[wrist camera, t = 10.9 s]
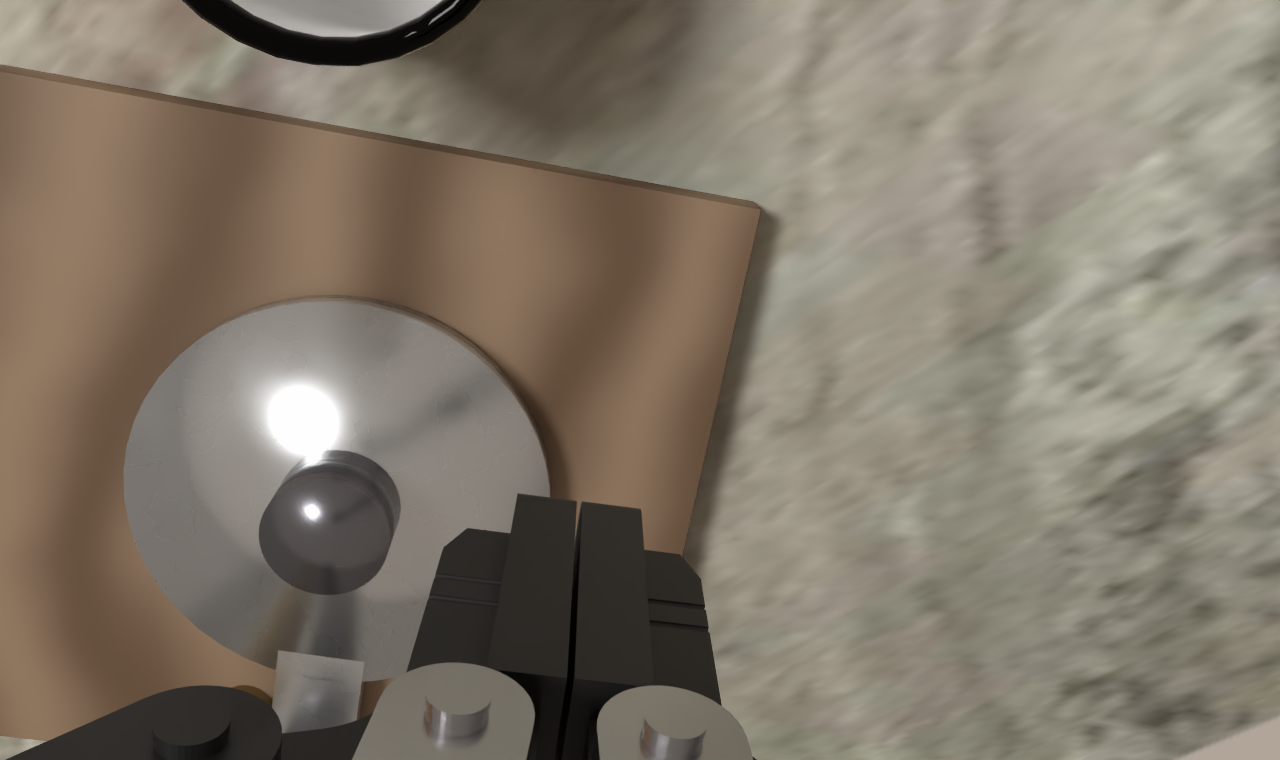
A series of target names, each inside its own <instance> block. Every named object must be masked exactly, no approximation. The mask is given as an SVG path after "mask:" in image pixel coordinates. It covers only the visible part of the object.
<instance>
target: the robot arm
mask: <svg viewBox="0 0 1280 760" xmlns="http://www.w3.org/2000/svg"><path fill="white" fill-rule="evenodd" d="M576 509H577V501H574V500H566V499H559V498H551V497H543V496H535V495H527V494H519V493H518V494H517V499H516V505H515V510H514V516H513V521H512V527H511V533H504V532H496V531H488V530H480V529H472V528H467V529H466V530H464V531H463V532H462V533H461V534H459V535H458V536H457V537H456V538H454V539H453V540H452V541H451V542H449V543H448V544H447V545H446V546H445V547H443V550H442V553H441V557H440V560H439V563H438V567H437V570H436V574H435V578H434V580H433V584H432V587H431V590H430V594H429V600H427V604H426V607H425V611H424V614H423V617H422V621H421V624H420V627H419V631H418V634H417V637H416V641H415V644H414V648H413V651H412V654H411V658H410V661H409V664H408V668H407V671H406V673H405V674H403V675H401V676H400V677H398V678H397V679H395V680H394V681H393V682H391V683H390V685H389V686H388V687H387V688H386V689H385V690H384V692H383V693H382V695H381V697H380V699H379V701H378V703H377V705H376V707H375V710H374V712H373V713H371V714H369V715H368V716H366V717H364V718H361V719H358V720H356V721H353V722H350V723H347V724H343V725H339V726H335V727H329V728H323V729H316V730H307V731H299V732H290V733H282V726H281V722H280V719H279V717H278V715H277V714H276V712H275V711H274V709H273V708H272V707H271V706H270V705H269V704H267V703H266V702H265V701H263V700H262V699H260V698H259V697H257V696H255V695H253V694H250V693H248V692H246V691H242V690H239V689H235V688H230V687H223V686H210V685H200V686H187V687H181V688H175V689H171V690H167V691H163V692H160V693H157V694H154V695H151V696H149V697H146V698H144V699H141V700H139V701H137V702H135V703H132V704H130V705H128V706H126V707H123V708H121V709H119V710H117V711H114V712H112V713H110V714H108V715H105V716H103V717H101V718H99V719H96V720H94V721H92V722H90V723H87V724H85V725H83V726H81V727H78V728H76V729H74V730H72V731H69V732H67V733H65V734H63V735H60V736H58V737H56V738H53V739H51V740H49V741H47V742H44V743H42V744H40V745H38V746H35V747H33V748H31V749H29V750H26V751H24V752H22V753H20V754H17V755H15V756H13V757H11V758H8V759H6V760H756V759H755V758H754V757H753V756H752V753H751V750H750V747H749V743H748V740H747V737H746V735H745V732H744V730H743V728H742V727H741V725H740V724H739V722H738V721H737V720H736V719H735V717H734V716H733V715H732V714H731V713H730V712H728V711H727V710H726V709H725V708H723V707H722V705H721V699H720V693H719V687H718V681H717V675H716V669H715V663H714V657H713V651H712V645H711V639H710V633H709V632H708V621H707V615H706V610H704V608H705V603H704V597H703V591H702V585H701V579H700V578H699V576H698V575H697V574H696V573H695V572H694V571H693V569H692V568H691V567H690V566H689V565H688V563H687V562H686V561H685V560H684V559H683V557H682V556H681V555H680V554H675V553H667V552H659V551H651V550H644V539H643V526H642V512H641V509H638V508H631V507H623V506H615V505H607V504H599V503H591V502H584V501H582V502H581V506H580V511H579V517H578V523H577V530H576V536H575V527H576Z"/></svg>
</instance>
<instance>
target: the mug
mask: <svg viewBox="0 0 1280 760" xmlns="http://www.w3.org/2000/svg"><path fill="white" fill-rule="evenodd" d="M182 1H183V2H184V3H186V4H187V5H188V6H189V7H190V8H191V9H192V10H193V11H194V12H195V13H196V14H198V15H199V16H200V17H201V18H202V19H204V20H205V21H207V22H208V23H210V24H212V25H213V26H215V27H216V28H218V29H219V30H221V31H222V32H224V33H226V34H227V35H229V36H230V37H232V38H233V39H235V40H237V41H238V42H241V43H243V44H245V45H248V46H250V47H253V48H255V49H258V50H260V51H263V52H265V53H267V54H270V55H272V56H275V57H277V58H282V59H287V60H292V61H297V62H302V63H307V64H312V65H317V66H365V65H370V64H375V63H380V62H385V61H390V60H395V59H399V58H402V57H404V56H406V55H408V54H411V53H413V52H415V51H417V50H420V49H422V48H424V47H427V46H429V45H431V44H433V43H435V42H437V41H438V40H439V39H441V38H442V37H444V36H445V35H446V34H448V33H449V32H450V31H452V30H453V29H455V28H456V27H457V26H459V25H460V24H462V23H463V22H464V21H466V20H467V19H468V18H469V16H470V15H471V14H472V13H473V12H474V11H475V10H476V9H477V8H478V7H479V5H480V4H481V3H482V2H483V1H484V0H182Z"/></svg>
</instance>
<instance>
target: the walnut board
mask: <svg viewBox="0 0 1280 760" xmlns="http://www.w3.org/2000/svg"><path fill="white" fill-rule="evenodd" d="M760 212H761V209H760V208H759V207H758V206H757V205H756V204H755V203H754V202H752V201H747V200H741V199H736V198H730V197H725V196H719V195H714V194H708V193H703V192H697V191H692V190H686V189H681V188H675V187H670V186H664V185H659V184H653V183H648V182H642V181H637V180H631V179H626V178H620V177H615V176H610V175H604V174H599V173H593V172H588V171H582V170H577V169H571V168H566V167H560V166H555V165H549V164H544V163H538V162H533V161H527V160H522V159H516V158H511V157H505V156H500V155H494V154H489V153H483V152H478V151H473V150H467V149H462V148H456V147H451V146H445V145H440V144H434V143H429V142H423V141H418V140H412V139H407V138H401V137H396V136H390V135H385V134H379V133H374V132H368V131H363V130H357V129H352V128H346V127H341V126H335V125H330V124H325V123H319V122H314V121H308V120H303V119H297V118H292V117H286V116H281V115H275V114H270V113H264V112H259V111H253V110H248V109H242V108H237V107H231V106H226V105H220V104H215V103H209V102H204V101H198V100H193V99H188V98H182V97H177V96H171V95H166V94H160V93H155V92H149V91H144V90H138V89H133V88H127V87H122V86H116V85H111V84H105V83H100V82H94V81H89V80H83V79H78V78H72V77H67V76H61V75H56V74H51V73H45V72H40V71H34V70H29V69H23V68H18V67H12V66H7V65H0V736H7V737H16V738H25V739H34V740H43V741H49V740H51V739H53V738H56V737H58V736H60V735H63V734H65V733H67V732H69V731H72V730H74V729H76V728H78V727H81V726H83V725H85V724H87V723H90V722H92V721H94V720H96V719H99V718H101V717H103V716H105V715H108V714H110V713H112V712H114V711H117V710H119V709H121V708H123V707H126V706H128V705H130V704H132V703H135V702H137V701H139V700H141V699H144V698H146V697H149V696H151V695H154V694H157V693H160V692H163V691H167V690H171V689H175V688H181V687H187V686H200V685H210V686H223V687H230V688H235V689H239V690H242V691H246V692H248V693H250V694H253V695H255V696H257V697H259V698H260V699H262V700H263V701H265V702H266V703H267V704H269V705H270V706H271V707H272V702H273V693H274V684H275V675H276V670H274V669H271V668H268V667H265V666H263V665H261V664H258V663H256V662H254V661H251V660H249V659H247V658H244V657H242V656H240V655H239V654H237V653H235V652H233V651H231V650H230V649H228V648H226V647H224V646H223V645H221V644H219V643H218V642H216V641H215V640H214V639H212V638H211V637H210V636H208V635H207V634H205V633H204V632H203V631H201V630H200V629H198V628H197V627H196V626H195V625H194V624H193V623H192V622H191V621H190V620H189V619H187V618H186V617H185V616H184V615H183V614H182V613H181V612H180V611H179V610H178V609H177V608H176V607H175V606H174V604H173V603H172V602H171V601H170V600H169V599H168V597H167V596H166V595H165V594H164V593H163V591H162V590H161V589H160V587H159V586H158V584H157V583H156V581H155V580H154V578H153V577H152V575H151V574H150V572H149V571H148V569H147V567H146V565H145V563H144V561H143V559H142V557H141V555H140V553H139V550H138V548H137V546H136V544H135V540H134V537H133V534H132V531H131V528H130V525H129V522H128V517H127V511H126V505H125V499H124V476H123V471H124V463H125V455H126V447H127V443H128V440H129V436H130V433H131V429H132V426H133V422H134V420H135V418H136V416H137V414H138V411H139V409H140V407H141V405H142V403H143V401H144V399H145V397H146V396H147V394H148V393H149V391H150V390H151V388H152V387H153V385H154V384H155V382H156V381H157V379H158V378H159V376H160V375H161V374H162V373H163V372H164V371H165V370H166V369H167V368H168V367H169V366H170V364H171V363H172V362H173V361H174V360H175V359H176V358H177V357H178V356H179V355H180V354H181V353H183V352H184V351H185V350H186V349H187V348H188V347H190V346H191V345H192V344H193V343H195V342H196V341H197V340H198V339H199V338H201V337H202V336H203V335H204V334H206V333H207V332H208V331H210V330H211V329H213V328H215V327H216V326H218V325H220V324H221V323H223V322H225V321H226V320H228V319H230V318H231V317H233V316H236V315H238V314H241V313H243V312H245V311H248V310H250V309H252V308H255V307H257V306H261V305H264V304H268V303H272V302H275V301H279V300H283V299H288V298H296V297H303V296H310V295H347V296H356V297H364V298H372V299H376V300H380V301H384V302H388V303H393V304H397V305H400V306H403V307H406V308H408V309H411V310H413V311H416V312H419V313H421V314H424V315H427V316H429V317H430V318H432V319H434V320H436V321H438V322H440V323H442V324H444V325H446V326H448V327H450V328H451V329H453V330H454V331H456V332H457V333H459V334H460V335H462V336H463V337H465V338H466V339H467V340H469V341H470V342H472V343H473V344H475V345H476V346H477V347H478V348H479V349H480V350H481V351H482V352H484V353H485V354H486V355H487V356H488V357H489V358H490V359H491V360H493V361H494V362H495V363H496V364H497V366H498V367H499V368H500V369H501V370H502V371H503V373H504V374H505V375H506V376H507V377H508V378H509V379H510V381H511V382H512V383H513V384H514V386H515V387H516V389H517V390H518V392H519V393H520V395H521V396H522V398H523V400H524V401H525V403H526V404H527V406H528V408H529V410H530V412H531V414H532V416H533V418H534V420H535V422H536V425H537V427H538V429H539V432H540V435H541V438H542V441H543V445H544V448H545V451H546V455H547V461H548V467H549V473H550V496H551V498H559V499H566V500H574V501H577V509H576V527H575V536H576V530H577V523H578V517H579V511H580V506H581V502H582V501H584V502H591V503H599V504H607V505H615V506H623V507H631V508H638V509H641V512H642V526H643V539H644V550H651V551H659V552H667V553H675V554H680V555H681V556H682V555H683V551H684V546H685V542H686V538H687V533H688V529H689V524H690V520H691V516H692V511H693V507H694V502H695V498H696V494H697V489H698V485H699V480H700V476H701V472H702V467H703V463H704V458H705V454H706V450H707V445H708V441H709V436H710V432H711V428H712V423H713V419H714V414H715V410H716V406H717V401H718V397H719V392H720V388H721V384H722V379H723V375H724V370H725V366H726V362H727V357H728V353H729V348H730V344H731V340H732V335H733V331H734V326H735V322H736V318H737V313H738V309H739V304H740V300H741V296H742V291H743V287H744V282H745V278H746V274H747V269H748V265H749V260H750V256H751V252H752V247H753V243H754V238H755V234H756V230H757V225H758V221H759V216H760ZM397 678H398V677H397ZM397 678H390V679H383V680H376V681H365V682H364V689H363V696H362V704H361V711H360V718H359V719H361V718H364V717H366V716H368V715H369V714H371V713H373V712H374V710H375V707H376V705H377V703H378V701H379V699H380V697H381V695H382V693H383V692H384V690H385V689H386V688H387V687H388V686H389V685H390V683H391V682H393V681H394V680H395V679H397Z"/></svg>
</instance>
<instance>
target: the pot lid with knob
mask: <svg viewBox="0 0 1280 760" xmlns="http://www.w3.org/2000/svg"><path fill="white" fill-rule="evenodd" d="M123 476H124V499H125V505H126V511H127V517H128V522H129V525H130V528H131V531H132V534H133V537H134V540H135V544H136V546H137V548H138V550H139V553H140V555H141V557H142V559H143V561H144V563H145V565H146V567H147V569H148V571H149V572H150V574H151V575H152V577H153V578H154V580H155V581H156V583H157V584H158V586H159V587H160V589H161V590H162V591H163V593H164V594H165V595H166V596H167V597H168V599H169V600H170V601H171V602H172V603H173V604H174V606H175V607H176V608H177V609H178V610H179V611H180V612H181V613H182V614H183V615H184V616H185V617H186V618H187V619H189V620H190V621H191V622H192V623H193V624H194V625H195V626H196V627H197V628H198V629H200V630H201V631H203V632H204V633H205V634H207V635H208V636H210V637H211V638H212V639H214V640H215V641H216V642H218V643H219V644H221V645H223V646H224V647H226V648H228V649H230V650H231V651H233V652H235V653H237V654H239V655H240V656H242V657H244V658H247V659H249V660H251V661H254V662H256V663H258V664H261V665H263V666H265V667H268V668H271V669H274V670H276V675H275V684H274V693H273V702H272V708H273V709H274V711H275V712H276V714H277V715H278V717H279V719H280V722H281V726H282V733H290V732H299V731H307V730H316V729H323V728H329V727H335V726H339V725H343V724H347V723H350V722H353V721H356V720H358V719H359V718H360V711H361V704H362V696H363V689H364V682H365V681H376V680H383V679H390V678H397V677H400V676H401V675H403V674H405V673H406V671H407V668H408V664H409V661H410V658H411V654H412V651H413V648H414V644H415V641H416V637H417V634H418V631H419V627H420V624H421V621H422V617H423V614H424V611H425V607H426V604H427V600H429V594H430V590H431V587H432V584H433V580H434V578H435V574H436V570H437V567H438V563H439V560H440V557H441V553H442V550H443V547H445V546H446V545H447V544H448V543H449V542H451V541H452V540H453V539H454V538H456V537H457V536H458V535H459V534H461V533H462V532H463V531H464V530H466V529H467V528H472V529H480V530H488V531H496V532H504V533H511V527H512V521H513V516H514V510H515V505H516V499H517V494H518V493H519V494H527V495H535V496H543V497H551V496H550V473H549V467H548V461H547V455H546V451H545V448H544V445H543V441H542V438H541V435H540V432H539V429H538V427H537V425H536V422H535V420H534V418H533V416H532V414H531V412H530V410H529V408H528V406H527V404H526V403H525V401H524V400H523V398H522V396H521V395H520V393H519V392H518V390H517V389H516V387H515V386H514V384H513V383H512V382H511V381H510V379H509V378H508V377H507V376H506V375H505V374H504V373H503V371H502V370H501V369H500V368H499V367H498V366H497V364H496V363H495V362H494V361H493V360H491V359H490V358H489V357H488V356H487V355H486V354H485V353H484V352H482V351H481V350H480V349H479V348H478V347H477V346H476V345H475V344H473V343H472V342H470V341H469V340H467V339H466V338H465V337H463V336H462V335H460V334H459V333H457V332H456V331H454V330H453V329H451V328H450V327H448V326H446V325H444V324H442V323H440V322H438V321H436V320H434V319H432V318H430V317H429V316H427V315H424V314H421V313H419V312H416V311H413V310H411V309H408V308H406V307H403V306H400V305H397V304H393V303H388V302H384V301H380V300H376V299H372V298H364V297H356V296H347V295H310V296H303V297H296V298H288V299H283V300H279V301H275V302H272V303H268V304H264V305H261V306H257V307H255V308H252V309H250V310H248V311H245V312H243V313H241V314H238V315H236V316H233V317H231V318H230V319H228V320H226V321H225V322H223V323H221V324H220V325H218V326H216V327H215V328H213V329H211V330H210V331H208V332H207V333H206V334H204V335H203V336H202V337H201V338H199V339H198V340H197V341H196V342H195V343H193V344H192V345H191V346H190V347H188V348H187V349H186V350H185V351H184V352H183V353H181V354H180V355H179V356H178V357H177V358H176V359H175V360H174V361H173V362H172V363H171V364H170V366H169V367H168V368H167V369H166V370H165V371H164V372H163V373H162V374H161V375H160V376H159V378H158V379H157V381H156V382H155V384H154V385H153V387H152V388H151V390H150V391H149V393H148V394H147V396H146V397H145V399H144V401H143V403H142V405H141V407H140V409H139V411H138V414H137V416H136V418H135V420H134V422H133V426H132V429H131V433H130V436H129V440H128V443H127V447H126V455H125V463H124V471H123Z"/></svg>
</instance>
